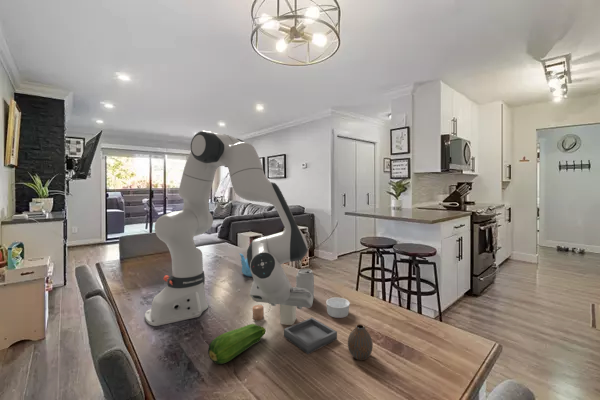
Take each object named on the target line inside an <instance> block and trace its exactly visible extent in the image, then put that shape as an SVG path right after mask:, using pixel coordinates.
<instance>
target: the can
mask: <svg viewBox="0 0 600 400" xmlns="http://www.w3.org/2000/svg"><path fill="white" fill-rule="evenodd" d="M295 287H296V288H304V289H307V290H308V291H309V292H310V293H311V294H312V296H313V299H314V297H315V274H314V273H313V270H312V269H310V268H300V269H298V270H297V273H296V274H295Z"/></svg>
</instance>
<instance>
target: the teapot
mask: <svg viewBox="0 0 600 400" xmlns="http://www.w3.org/2000/svg"><path fill="white" fill-rule="evenodd" d="M238 254H239V255H240V258H241V259H240V261H241V273H242V274H243V275H244V276H246V277H252V274H251V270H250V268H249V265H248V261H247V257H246V258H245V255H244V254H243V253H241V252H240V253H239V252H238ZM252 278H253V277H252Z"/></svg>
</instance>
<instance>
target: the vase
mask: <svg viewBox="0 0 600 400" xmlns="http://www.w3.org/2000/svg"><path fill="white" fill-rule="evenodd" d="M373 346H374V345H373V339H372V336H371V335H370V333H369V331H368V330H367V329H366V327H365V325H363V324H356V325H355V327H354V328H353V329H352V330H351V332H350V334H349V335H348V338H347V348H348V351H349V353H350V355H351V356H352V357H353V358H354V359H355V360H358V361H364V360H367V359H368V358H369V357H371V354H372V351H373Z"/></svg>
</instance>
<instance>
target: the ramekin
mask: <svg viewBox="0 0 600 400" xmlns="http://www.w3.org/2000/svg"><path fill="white" fill-rule="evenodd" d="M325 303H326V304H325V305H326V313H327V314H328V316H330V317H332V318H336V319H340V318H341V319H343V318H346V317H348V316H349V312H350V311H349V310H350V305H351V302H350V301H349V300H348V299H346V298H344V297H339V296H338V297H330V298H327V299H326V301H325Z"/></svg>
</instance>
